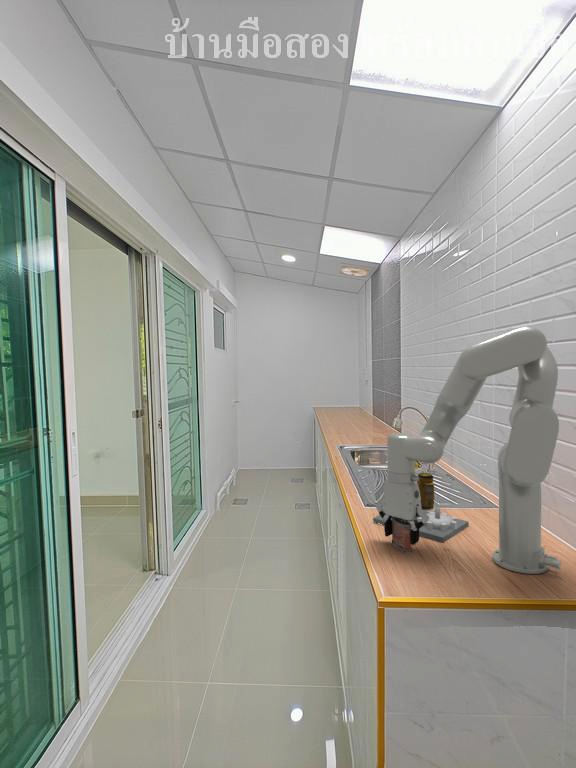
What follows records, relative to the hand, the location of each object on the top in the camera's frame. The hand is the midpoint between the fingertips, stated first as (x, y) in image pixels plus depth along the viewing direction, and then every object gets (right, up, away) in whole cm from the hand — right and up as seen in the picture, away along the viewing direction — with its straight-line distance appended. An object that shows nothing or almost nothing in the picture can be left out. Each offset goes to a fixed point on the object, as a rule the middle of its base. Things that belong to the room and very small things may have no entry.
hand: (401, 538), depth 119 cm
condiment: (+18, -1, +35) cm, 39 cm away
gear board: (+11, -2, +18) cm, 21 cm away
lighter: (0, -3, 0) cm, 3 cm away
